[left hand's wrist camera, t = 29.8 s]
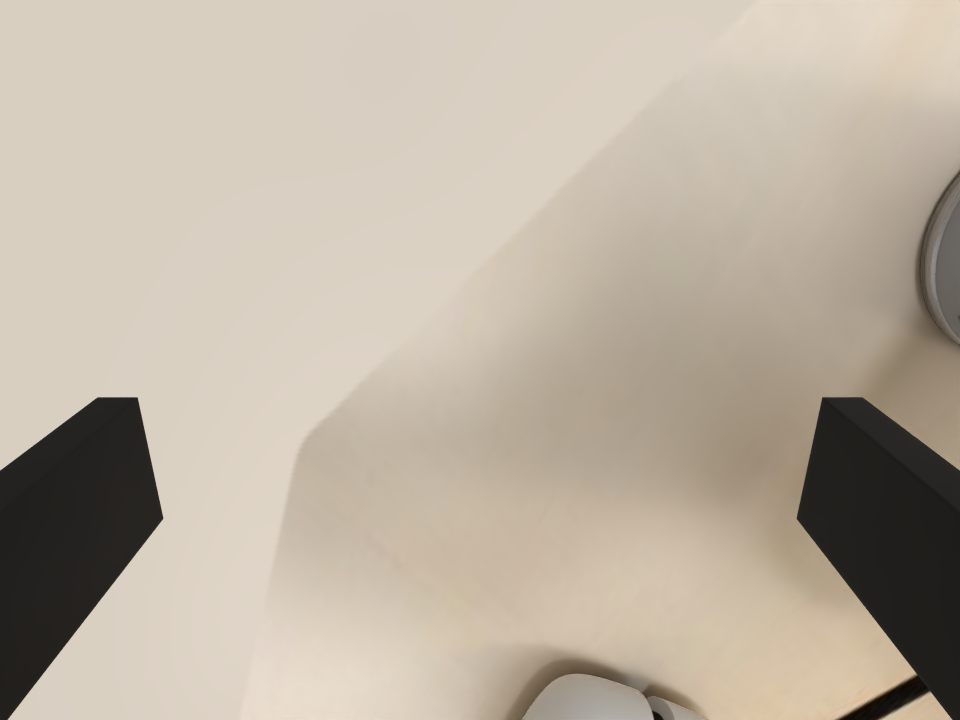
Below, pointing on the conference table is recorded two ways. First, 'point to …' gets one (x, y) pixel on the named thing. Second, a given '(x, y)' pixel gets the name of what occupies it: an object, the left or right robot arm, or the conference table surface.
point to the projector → (601, 702)
